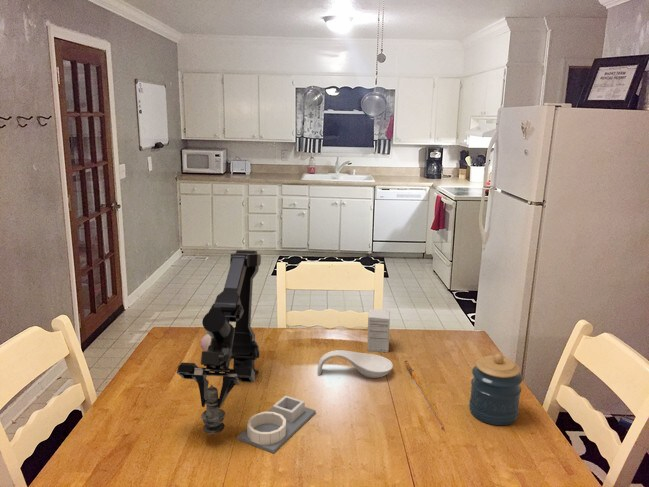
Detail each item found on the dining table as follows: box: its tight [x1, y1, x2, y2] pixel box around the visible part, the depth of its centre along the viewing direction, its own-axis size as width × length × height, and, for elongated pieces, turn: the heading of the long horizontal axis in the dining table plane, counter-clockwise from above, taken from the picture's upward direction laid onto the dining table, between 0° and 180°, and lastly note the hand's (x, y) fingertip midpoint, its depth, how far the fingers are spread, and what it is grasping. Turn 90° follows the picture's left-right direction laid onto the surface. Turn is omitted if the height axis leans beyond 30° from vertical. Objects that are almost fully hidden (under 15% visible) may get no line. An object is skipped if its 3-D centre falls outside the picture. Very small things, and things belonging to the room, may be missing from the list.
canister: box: [468, 353, 524, 426], centre depth 143 cm, size 13×13×18 cm
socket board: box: [237, 395, 317, 454], centre depth 138 cm, size 20×11×4 cm, turn 150°
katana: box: [404, 360, 444, 429], centre depth 153 cm, size 1×35×3 cm, turn 7°
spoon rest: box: [317, 349, 394, 379], centre depth 165 cm, size 24×12×7 cm, turn 90°
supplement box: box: [366, 309, 391, 353], centre depth 182 cm, size 7×7×13 cm
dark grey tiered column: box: [200, 384, 226, 435], centre depth 130 cm, size 6×6×12 cm
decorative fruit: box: [200, 331, 211, 351], centre depth 173 cm, size 9×8×10 cm
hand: (210, 407), depth 128 cm, fingers closed on dark grey tiered column, 4 cm apart
